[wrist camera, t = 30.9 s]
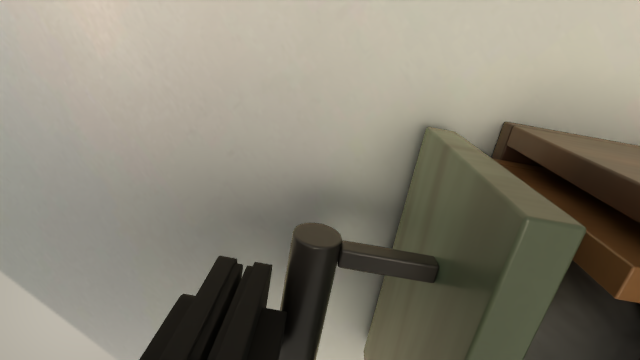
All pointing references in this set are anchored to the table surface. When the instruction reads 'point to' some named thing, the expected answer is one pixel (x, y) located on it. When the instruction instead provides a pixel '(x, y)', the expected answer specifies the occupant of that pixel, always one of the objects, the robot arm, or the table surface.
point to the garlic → (587, 323)
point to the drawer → (464, 259)
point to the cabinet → (578, 162)
